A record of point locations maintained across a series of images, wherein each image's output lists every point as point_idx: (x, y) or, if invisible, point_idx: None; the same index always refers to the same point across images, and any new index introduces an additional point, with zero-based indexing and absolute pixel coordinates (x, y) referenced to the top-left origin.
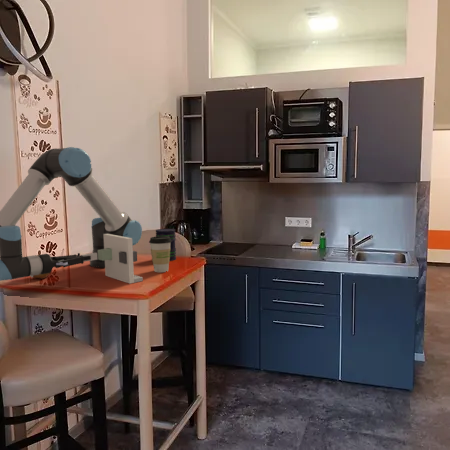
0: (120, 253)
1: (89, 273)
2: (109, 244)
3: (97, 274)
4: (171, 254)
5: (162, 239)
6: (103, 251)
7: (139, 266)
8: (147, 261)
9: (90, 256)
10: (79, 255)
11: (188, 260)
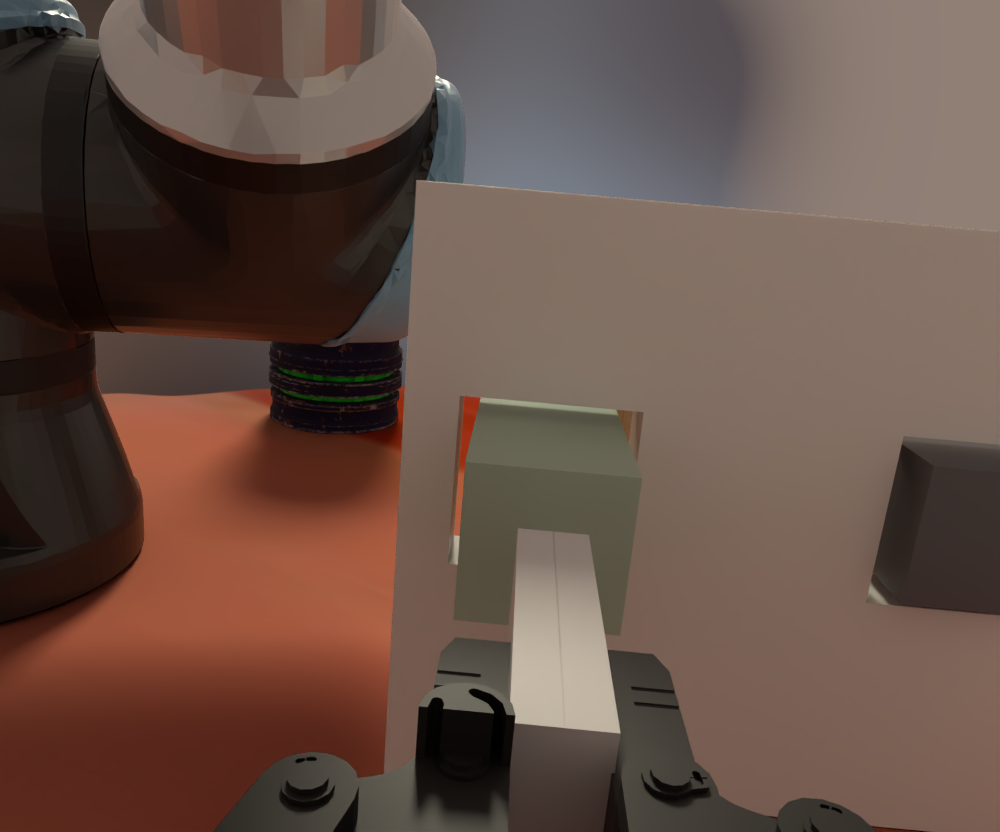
0: (982, 481)
1: (34, 815)
2: (591, 348)
3: (212, 791)
4: (400, 381)
5: None
6: (637, 480)
7: (342, 512)
8: (262, 449)
9: (656, 666)
10: (504, 759)
11: (474, 407)
